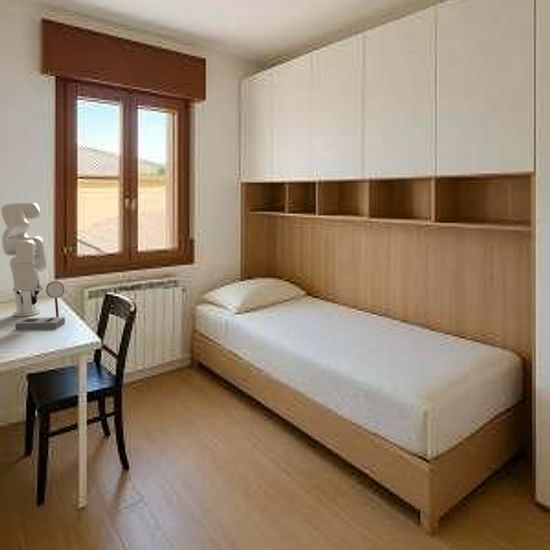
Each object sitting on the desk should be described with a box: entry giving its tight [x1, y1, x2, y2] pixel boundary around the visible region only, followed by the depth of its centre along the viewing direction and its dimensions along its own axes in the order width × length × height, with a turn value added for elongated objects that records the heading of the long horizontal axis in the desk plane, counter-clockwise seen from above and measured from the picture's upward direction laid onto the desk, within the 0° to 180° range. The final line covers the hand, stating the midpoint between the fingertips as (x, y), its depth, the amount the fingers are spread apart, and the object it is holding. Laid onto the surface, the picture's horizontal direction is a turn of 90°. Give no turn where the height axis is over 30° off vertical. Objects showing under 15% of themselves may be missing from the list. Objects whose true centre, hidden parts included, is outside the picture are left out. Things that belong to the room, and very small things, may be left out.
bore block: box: [14, 316, 66, 330], centre depth 236 cm, size 11×19×3 cm, turn 93°
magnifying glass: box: [45, 280, 65, 317], centre depth 247 cm, size 9×2×20 cm, turn 126°
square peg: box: [22, 291, 37, 311], centre depth 233 cm, size 4×4×10 cm
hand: (29, 303), depth 233 cm, fingers closed on square peg, 4 cm apart
